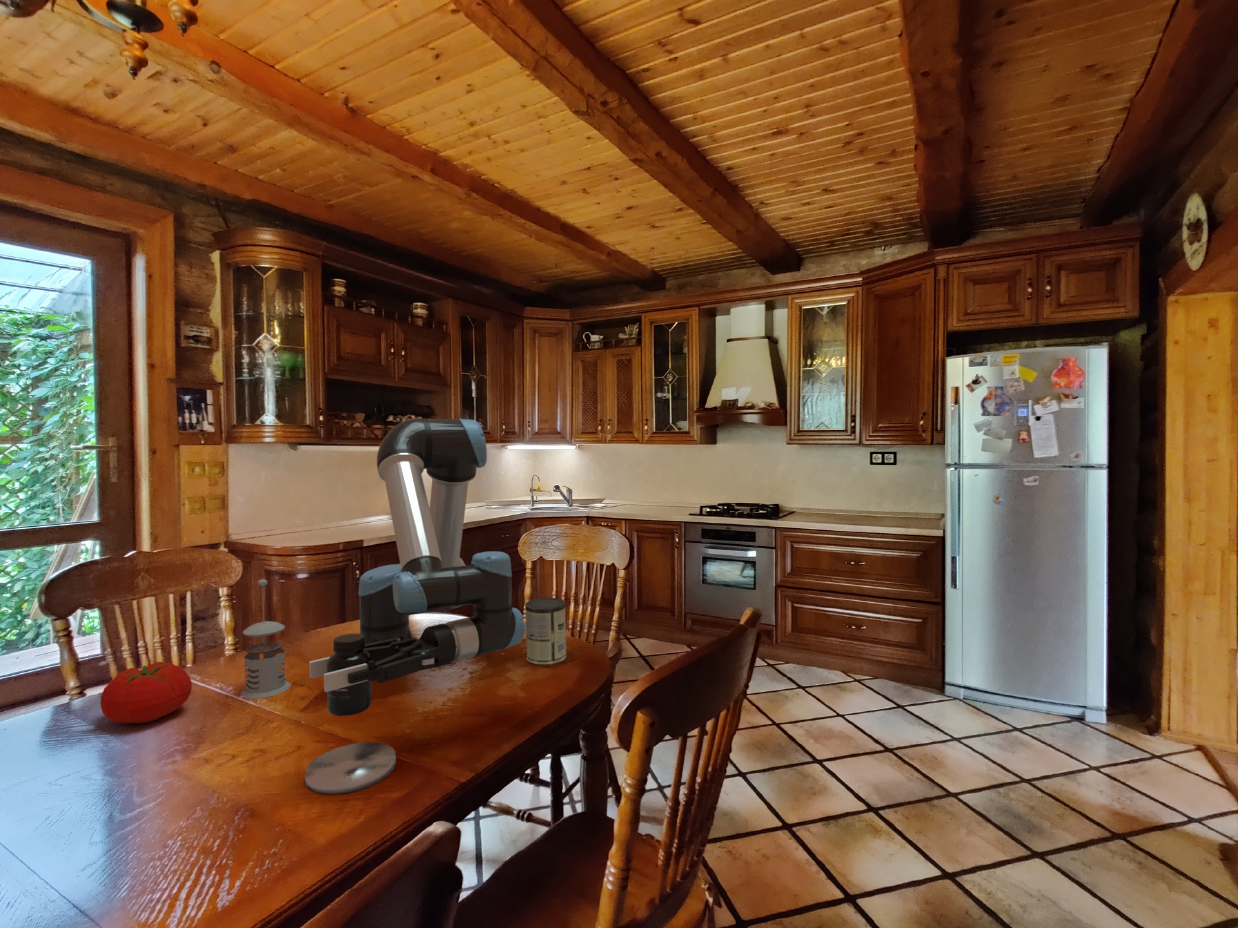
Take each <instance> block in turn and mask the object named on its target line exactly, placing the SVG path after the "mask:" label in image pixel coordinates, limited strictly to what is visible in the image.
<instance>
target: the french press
mask: <svg viewBox="0 0 1238 928" xmlns="http://www.w3.org/2000/svg"><path fill="white" fill-rule="evenodd" d="M266 585H268V580H266V579H264V578H263V579H259V580H258V582H257V586H261V595H262V596H261V598H262V600H261V602H262V621H261V622H257V623H253V624H252V625H250V626H248V627H246V629H244V630H243V631H242V634H243V635H244V636H246V637H252V638H253V645H250V646H248V647H247V648H246V650H245V652H246V653H247V654H246V655H244V676H245V677H244V682H245V684H244V685H245V687H244V688H243V690H242V691H241V692H240V697H242V696H243V697H242V698H244V699H248V700H249V699H250V700H252V699H253V700H254V699H255V700H256V699H257V700H258V699H264V698H269V697H273V696H278V695H280V694H282V693H284V692H286V691H287V690H289V689H290V688H291V683H290V682H289V681H287V680H286V662H285V661H286V657H285V656H286V652H285V649H284V648H283V645H284V644H283V643H282V642H280V641H267V642H266V637H268V636H271V635H275V634H278V633H281V632H282V631H284V630H285V628H286V627H285V624H282V623H280V622H277V621H272V620H271V621H268V620H267V621H266V620H265V605H264V603H265V602H264V600H265V598H264V586H266ZM260 638H261V642H259V643H256V639H260ZM260 655H262V656H263V658H262V659H261V658H260ZM279 665H282V666H279ZM246 667H247V668H246ZM282 670H283V671H282ZM279 671H280V672H279Z"/></svg>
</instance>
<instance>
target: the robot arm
mask: <svg viewBox="0 0 1238 928" xmlns="http://www.w3.org/2000/svg"><path fill="white" fill-rule="evenodd" d="M487 450H488V448H487V442H486V438H485V434H484V431H483V428H482V426H481V424H480V423H479V422H478V421H476V420H474V419H465V418H463V419H462V418H410V419H407V420H403V421H401V422H400V423H397V424H396V425H395V426H394V427H392V429H390V430H389V431H388V432H387V434H386V435H385V436H384V437H383V439H382V441H381V442H380V445H379V448H378V450H377V454H376V468H377V473H378V476H379V477H380V479H381V480H383V482H384V483H385V484H384V485H385V489H386V494H387V500H388V504H389V511H390V516H391V520H392V526H393V531H394V535H395V536H394V537H395V538H394V539H395V543H396V548H397V553H398V558H399V563H397V564H387V565H382V566H379V567H375V568H373V569H370V570H367V571H366V572H364V573H363V574H362V575H360V578H359V586H358V596H359V626H360V627H359V630H360V631H359V634H362V635H364V636H365V648H364V650H366V651H368V652H369V653H370V655H371V660H369V668H367V664H366V663H365V664H361V665H357V666H353V667H349V668H345V669H341V670H337V671H333V672H329V673H327V661H328V659H329V658H330V656H327V657H322V658H319V659H314V660H310V661H308V666H309V668H308V669H309V670H308V671H309V679H311V680H312V679H316V678H320V677H323V690H324V692H325V693H327V692H328V691H332V690H336V689H339V688H343V687H347V686H350V685H354V684H358V683H361V682H365V681H368V679H369V681H372V682H376V683H378V684H383V683H386V682H387V683H388V682H389V681H393V680H395V679H398V678H402V677H405V676H409V675H411V674H414V673H418V672H420V671H425V670H429V669H436V668H442V667H444V666H447V665H451V664H452V663H457V662H460V663H465V662H466V660H467V659H472V658H474V657H478V656H482V655H485V654H489V653H494V652H497V651H503V650H505V649H508V648H511V647H514V646H515V645H518V644H520V643H521V642H522V641H523V639H524V637H525V635H526V622H524V616H523V614H522V613H521V611H520V610H519V609H518V608H516V607H513V604H512V597H513V596H512V592H513V591H512V590H513V589H512V586H513V585H512V579H513V578H512V577H513V574H512V564H511V563H512V562H511V557H510V556H509V555H508V553H505V552H503V551H495V550H493V551H482V552H477V553H475V554H474V555H472V558H471V562H470V563H471V564H467V565H466V563H465V562H464V560H463V559H462V558H461V557H460V556H461V547H462V538H463V531H464V521H465V513H466V507H467V506H466V504H467V497H468V496H467V495H468V486H469V482H471V481H472V480H474V479H475V477H477V476H476V474H477V468H478V469H481V468H484V467H485V465H486V464H487V457H488V451H487ZM424 470H426V474H427V475H428V477H430V478H431V480H432V481H431V488H430V500H429V501H428V496H427V492H426V490H425V489H426V488H425V485H424V479H423V473H424ZM468 605H473V606H472V609H473V611H472V612H473V616H470V617H464V618H460V619H455V620H450V621H447V622H446V623H439V624H433V625H430V626H428V627H425V628H424V629H423V631H422V634H421V635H420V637H419V638H415V637H414V636H413V633H412V631H411V628H410V616H411V615H419V614H426V613H432V612H440V611H451V610H452V609H457V608H461V607H462V606H468Z"/></svg>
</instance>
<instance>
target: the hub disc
mask: <svg viewBox="0 0 1238 928" xmlns="http://www.w3.org/2000/svg"><path fill="white" fill-rule="evenodd" d="M396 765H397V755H396V751H395V749H394V748H393V747H391V746H390V745H388V744H386V743H381V742H373V741H372V742H371V741H368V742H356V743H352V744H351V743H350V744H346V745H342V746H340V747H336V748H333V749H331V750H329V751H327V752H324V753H322V754H320V755H319V756H318V757H316V758H315V759H314V760H312V761H311V762H310V764H308V766H307V767H306V768H305V771H304V781H305V782H304V784H305V785H306V788H308V789H309V790H310V791H312V792H314V793H316V794H322V795H342V794H343V795H344V794H350V793H353V792H358V791H361V790H364V789H366V788H367V789H368V788H370V787H372V786H374V785H375V784H378V783H380V782H382V781H383V780H384V779H385V778H387V777H388V776H389V775H390V774H391V773H392V772H393V771H394V770H395V767H396Z"/></svg>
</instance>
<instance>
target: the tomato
mask: <svg viewBox="0 0 1238 928" xmlns="http://www.w3.org/2000/svg"><path fill="white" fill-rule="evenodd" d="M192 686H193V682H192V679H191V677H190V675H189V674H188V673H187V672H186V670H184V669H183V668H181V667H180V666H179V665H176V664H174V663H173V662H167V661H157V662H153V663H151V664H148V665H143V666H142V668H141V669H137V668H135V667H131V668H127V669H124V670H123V671H121V672H118V674H116V675H115V677H113V679H112V680H110V681H109V683H107V685H106V686H104V688H103V691H102V692H101V695H100V707H101V712H102V714H103V715H104V717H105V718H107V719H108V720H111V721H112V722H115V723H116V724H122V725H123V724H146V723H147V724H148V723H151V722H153V721H156V720H158V719H160V718H163V717H165V716H167V715H169V714H171V713H173V712H174V711H176V710H178V709H179V708H180V707H182V706H183V705H184V704H185V702H187V701H188V700H189V697H190V695H191V693H192Z"/></svg>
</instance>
